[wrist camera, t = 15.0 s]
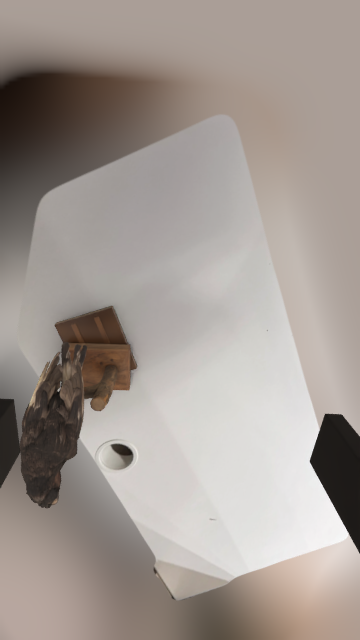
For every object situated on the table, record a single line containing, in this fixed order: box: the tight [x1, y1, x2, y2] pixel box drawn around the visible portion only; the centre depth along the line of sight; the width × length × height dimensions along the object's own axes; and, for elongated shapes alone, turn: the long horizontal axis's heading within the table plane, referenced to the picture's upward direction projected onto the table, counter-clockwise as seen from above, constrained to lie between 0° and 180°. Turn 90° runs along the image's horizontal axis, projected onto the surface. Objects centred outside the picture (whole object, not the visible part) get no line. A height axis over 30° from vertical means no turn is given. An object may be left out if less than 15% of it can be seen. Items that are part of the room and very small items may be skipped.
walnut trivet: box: [55, 306, 137, 370], centre depth 54 cm, size 12×10×1 cm
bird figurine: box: [20, 342, 130, 508], centre depth 42 cm, size 11×14×25 cm
